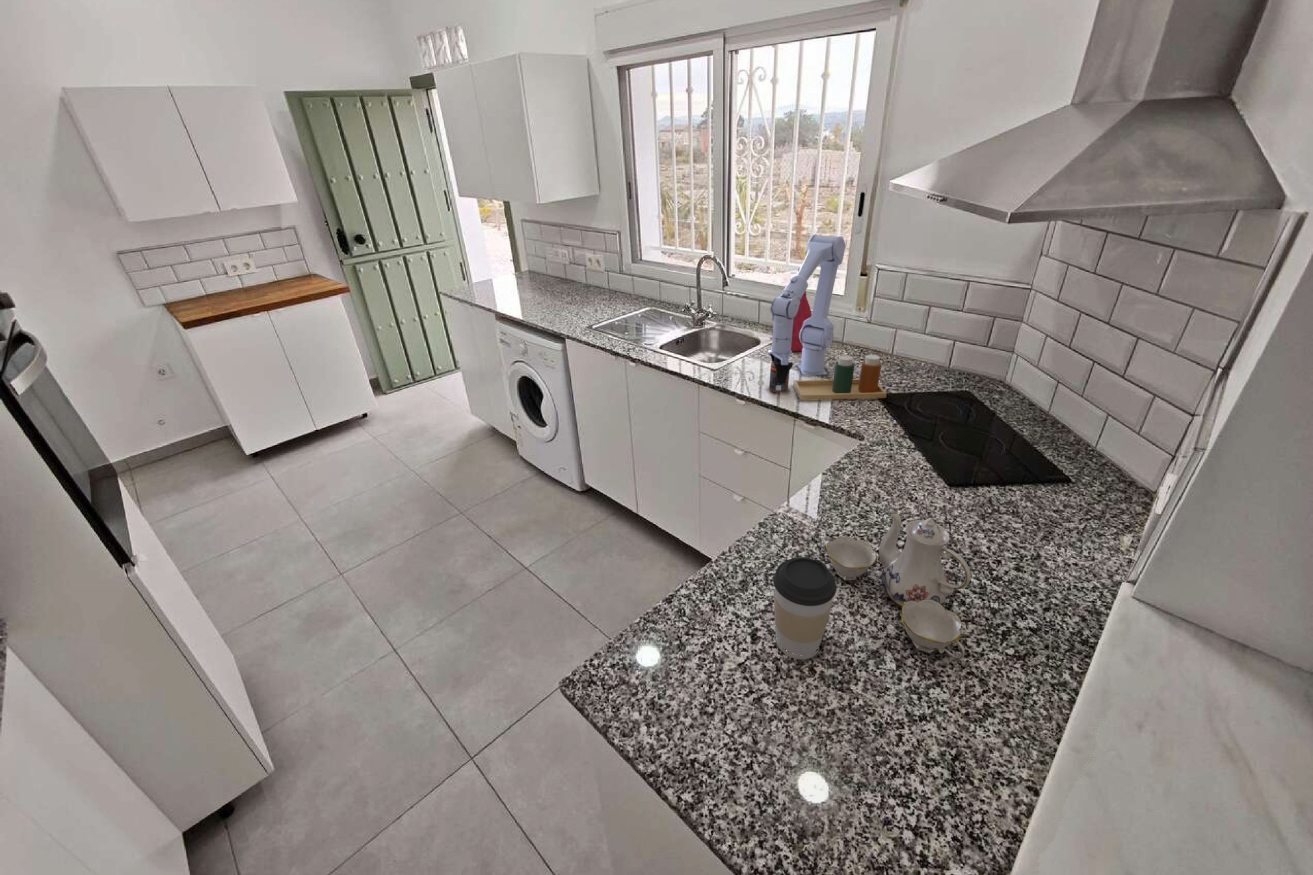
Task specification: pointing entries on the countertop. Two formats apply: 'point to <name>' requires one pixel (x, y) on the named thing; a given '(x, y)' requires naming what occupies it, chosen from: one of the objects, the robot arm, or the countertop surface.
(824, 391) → the tray
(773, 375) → the supplement bottle
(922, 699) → the countertop surface
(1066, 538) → the countertop surface
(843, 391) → the dark green bottle
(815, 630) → the coffee cup
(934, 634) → the chinaware
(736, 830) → the countertop surface
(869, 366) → the amber bottle
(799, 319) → the wine bottle
